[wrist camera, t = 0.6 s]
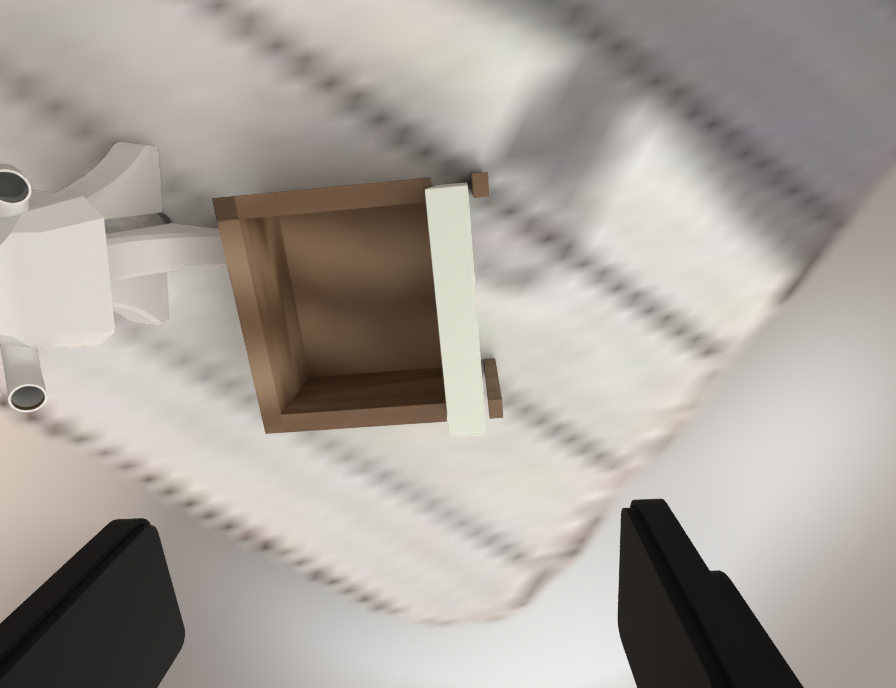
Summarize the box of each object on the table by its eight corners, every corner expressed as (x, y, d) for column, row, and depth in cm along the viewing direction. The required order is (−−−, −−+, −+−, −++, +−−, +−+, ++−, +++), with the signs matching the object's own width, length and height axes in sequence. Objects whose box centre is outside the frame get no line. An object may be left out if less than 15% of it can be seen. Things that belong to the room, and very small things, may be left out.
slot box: (261, 193, 33) (212, 198, 27) (482, 172, 33) (487, 172, 26) (300, 388, 38) (265, 433, 31) (496, 373, 37) (503, 417, 30)
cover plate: (436, 185, 33) (424, 189, 24) (466, 182, 33) (467, 185, 23) (453, 370, 37) (449, 437, 28) (480, 368, 37) (486, 435, 28)
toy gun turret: (29, 130, 33) (-445, 82, 16) (235, 155, 33) (-14, 135, 16) (54, 308, 36) (-307, 426, 19) (238, 330, 37) (40, 467, 20)
